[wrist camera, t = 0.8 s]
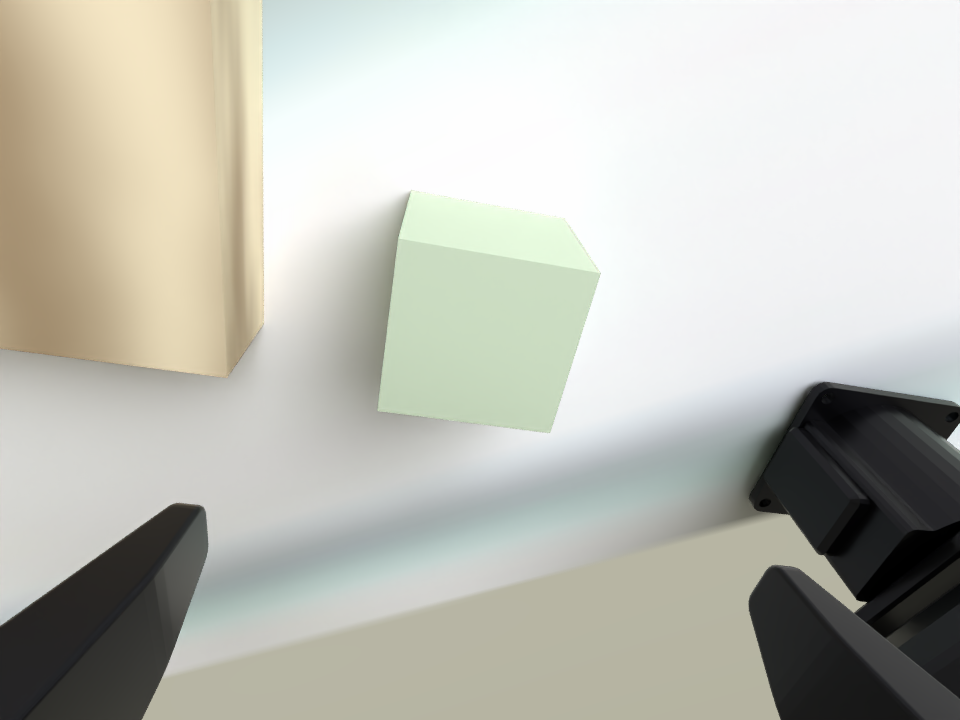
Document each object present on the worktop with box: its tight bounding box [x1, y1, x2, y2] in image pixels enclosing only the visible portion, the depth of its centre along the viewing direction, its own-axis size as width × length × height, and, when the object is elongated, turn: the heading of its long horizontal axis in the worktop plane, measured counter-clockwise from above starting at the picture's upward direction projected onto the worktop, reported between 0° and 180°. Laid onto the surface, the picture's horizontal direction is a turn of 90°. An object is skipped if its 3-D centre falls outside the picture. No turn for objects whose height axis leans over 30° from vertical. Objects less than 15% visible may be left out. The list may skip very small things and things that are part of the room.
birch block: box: [0, 0, 264, 378], centre depth 14 cm, size 10×12×4 cm
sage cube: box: [377, 190, 601, 433], centre depth 17 cm, size 5×5×5 cm
